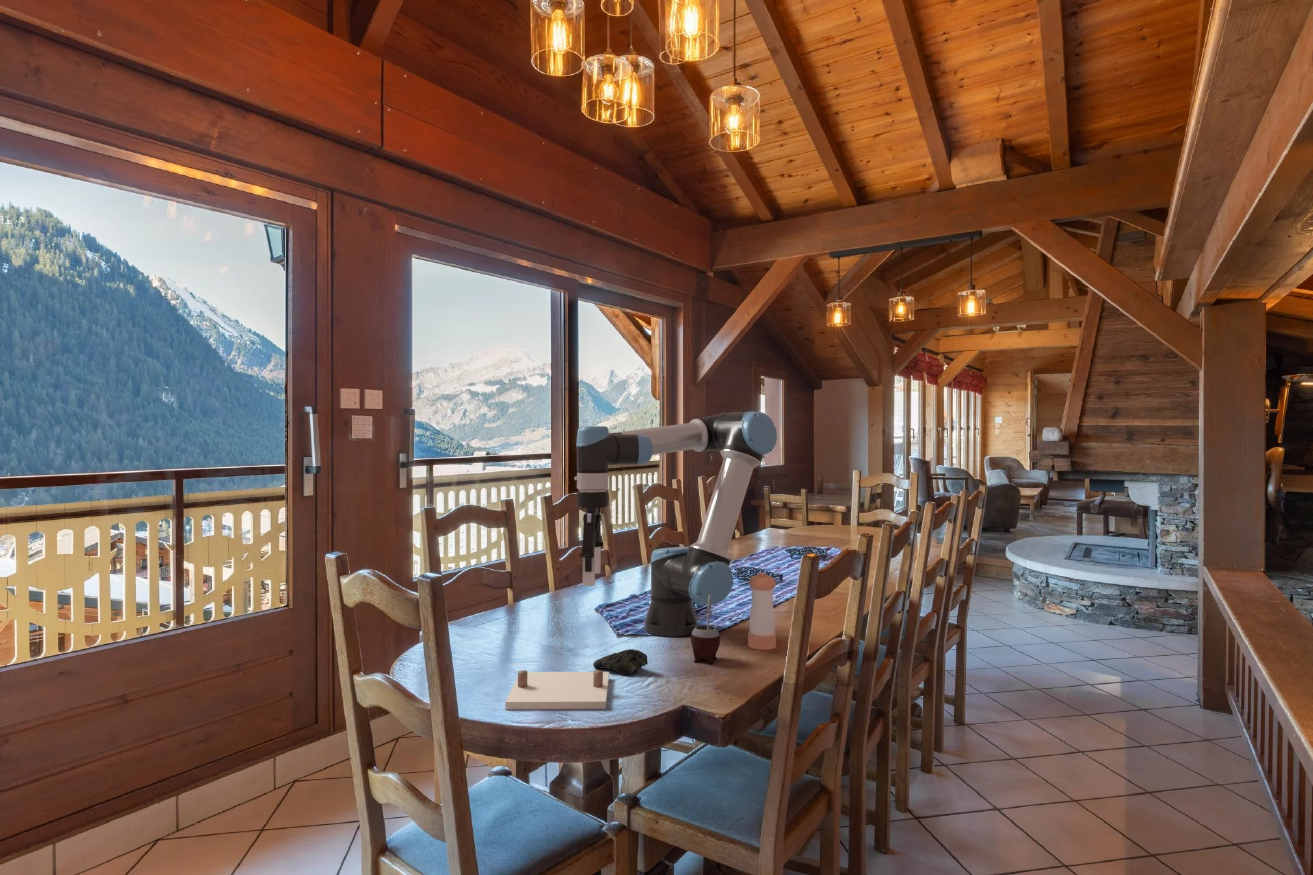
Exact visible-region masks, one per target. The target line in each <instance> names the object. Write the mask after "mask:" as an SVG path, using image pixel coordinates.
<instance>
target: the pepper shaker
mask: <svg viewBox="0 0 1313 875" xmlns="http://www.w3.org/2000/svg"><path fill="white" fill-rule="evenodd" d="M748 585H749V587H750V588H751V607H750V612H749V622H748V624H749V626H748V627H749V630H748V632H747V647H749V648H751V649H754V650H758V651H769V650H770V651H771V650H773V649H775V648H776V647H777V633H776V630H775V628H776V618H775V611H774V609H775V608H774V602H773V601H774V589H775V588H776V585H777V582H776V579H775V578H774V577H772V576H771V575H768V574H766V573H765V572H761V571H760V572H759V574H755V575H753V576H751V578H750V579H749V581H748Z"/></svg>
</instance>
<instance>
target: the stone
mask: <svg viewBox="0 0 1313 875" xmlns="http://www.w3.org/2000/svg"><path fill="white" fill-rule="evenodd" d="M648 662H649V661H648V655H647V654H646V653H643V652H642V651H640V650H638V649H634V648H633V649H632V648H631V649H626V650H621V651H618V652H613V653H612V654H608V655H605V656H603V657H601V658H598V659H596V660H595V661H594V662H593V663H592V666H593V668H594V669H596V670H597V669H598V670H600V669H611V670H613V671H615V672H616V673H620V674H621V675H623V676H632V675H633V673H634V672H635V671H638V670H640V669H642V667H645V666H647V665H648Z"/></svg>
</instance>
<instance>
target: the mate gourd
mask: <svg viewBox="0 0 1313 875" xmlns="http://www.w3.org/2000/svg"><path fill="white" fill-rule="evenodd" d="M710 598H711V594H709V595H708V605H706V607H707V615H706V616H707V618H706V619H707V623H706V624H702V625H701V624H700V625H698V626H696V627H695V628H694V630H693V631H692V634H690V635H691V636H690V644H691V647H692V652H693V657H694V659H693V663H695V664H697V663H702V662H705V663H706V664H709V665H714V661H715V660H717V658H718V657H717V656H716V655H717V653H718V651H719V648H720V645H721V636H720V633H719V631H718V629H717V627H715V626H713V625H710V618H711V617H710V615H711V611H710V610H711V607H712V605H710Z"/></svg>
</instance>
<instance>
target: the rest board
mask: <svg viewBox="0 0 1313 875" xmlns="http://www.w3.org/2000/svg"><path fill="white" fill-rule="evenodd" d="M609 684H610V672H609V671H603V670H602V669H601V670H600V669H598V670H597V669H596V670H594V671H528V670H519V671H518V672H517V677H516V679H515V682H514V683H513V686H512V687H511V689H510V692H509V694H508V696H507V698H506V700H505V703H504V705H505V708H504V709H505V710H606V708H607V702H608V692H609Z"/></svg>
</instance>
